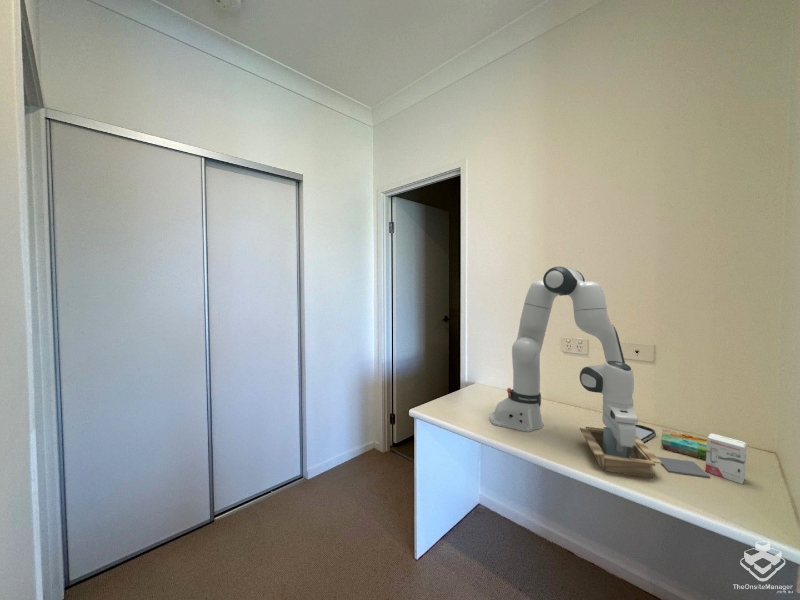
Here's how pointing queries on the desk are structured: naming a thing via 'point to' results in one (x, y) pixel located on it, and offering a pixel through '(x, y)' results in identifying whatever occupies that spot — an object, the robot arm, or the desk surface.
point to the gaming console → (644, 433)
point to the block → (613, 445)
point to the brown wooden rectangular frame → (632, 466)
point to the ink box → (726, 457)
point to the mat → (682, 467)
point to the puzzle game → (684, 443)
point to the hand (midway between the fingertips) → (616, 447)
